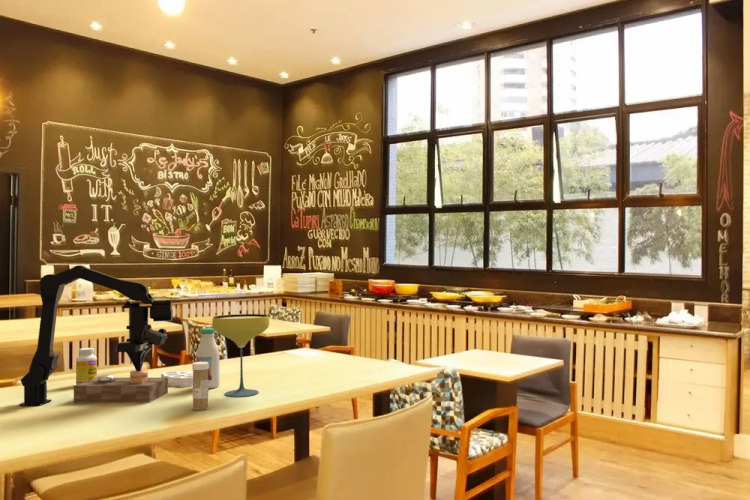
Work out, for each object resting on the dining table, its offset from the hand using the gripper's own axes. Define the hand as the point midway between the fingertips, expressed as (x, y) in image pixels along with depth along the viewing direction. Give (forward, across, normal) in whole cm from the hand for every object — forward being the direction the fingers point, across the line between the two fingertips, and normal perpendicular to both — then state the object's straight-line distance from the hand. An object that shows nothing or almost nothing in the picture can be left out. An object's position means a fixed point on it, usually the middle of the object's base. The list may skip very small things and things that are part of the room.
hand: (138, 371), depth 195 cm
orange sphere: (+5, 0, 0) cm, 5 cm away
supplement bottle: (+9, +20, +28) cm, 36 cm away
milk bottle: (+8, +17, -17) cm, 25 cm away
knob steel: (+7, 0, +11) cm, 13 cm away
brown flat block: (+8, 0, +6) cm, 10 cm away
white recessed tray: (+9, +25, -4) cm, 27 cm away
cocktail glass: (+8, +6, -32) cm, 33 cm away
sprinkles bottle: (+8, -15, -26) cm, 31 cm away
